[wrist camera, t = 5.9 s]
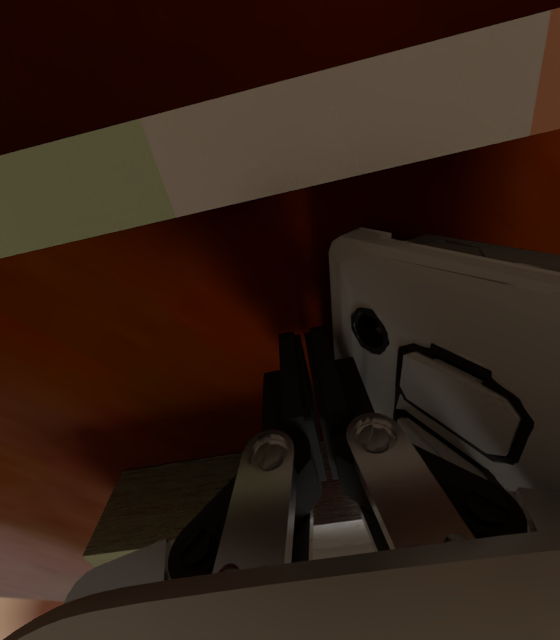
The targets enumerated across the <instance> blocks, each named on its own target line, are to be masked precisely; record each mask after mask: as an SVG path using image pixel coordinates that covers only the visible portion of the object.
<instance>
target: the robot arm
mask: <svg viewBox="0 0 560 640" xmlns="http://www.w3.org/2000/svg"><path fill="white" fill-rule="evenodd" d="M309 330H310V332H309V333H304V335H305V341H306V347H307V352H308V358H309V363H310V369H311V375H312V380H313V386H314V391H315V397H316V403H317V408H318V413H319V418H320V423H321V428H322V432H323V437H324V441H325V446H326V451H327V455H328V460H329V464H330V469H331V474H332V478H333V480H336V479H340V482H341V487H342V491H343V494H344V495H346V496H347V497H349V498H350V499H351V500H353V501H354V502H356V503H357V506H358V510H359V512H360V515H361V517H362V520H363V522H364V525H365V527H366V530H367V532H368V535H369V537H370V540H371V543H372V545H373V548H374V550H375V552H370V553H362V554H355V555H347V556H339V557H332V558H324V559H317V560H313V522H314V514H313V508H314V506H315V505H316V504H317V502H318V501H319V499H320V498H321V493H323V492H322V485H321V482H323V481H327V475H326V469H325V463H324V457H323V451H322V445H321V439H320V433H319V428H318V422H317V416H316V410H315V404H314V398H313V393H312V388H311V383H310V379H309V374H308V370H307V365H306V360H305V356H304V351H303V347H302V342H301V338H300V334H299V335H294V332H289V333H284V334H279V356H280V370H278V371H273V372H267V373H264V383H263V415H262V432H260V433H258V434H256V435H255V436H254V437H252V438H251V439H250V440H249V442H248V443H247V444H246V445H245V448H244V450H243V453H242V457H241V461H240V465H239V469H238V473H237V474H236V475H235V476H234V477H233V478H232V479H231V480H230V481H229V482H228V483H227V484H226V485H225V486H224V487H223V488H222V489H221V490H220V492H219V493H218V494H217V495H216V496H215V497H214V498H213V499H212V500H211V501H210V502H209V503H208V504H207V505H206V506H205V507H204V508H203V509H202V510H201V511H200V512H199V513H198V514H197V515H196V516H195V517H194V518H193V519H192V520H191V521H190V522H189V523H188V525H187V526H186V527H185V528H184V529H183V530H182V531H181V532H180V534H179V535H178V536H177V537H176V539H174V540H171V541H168V540H167V538H166V539H163V540H161V541H158V542H156V543H153V544H151V545H149V546H146V547H144V548H141V549H139V550H136V551H134V552H131V553H129V554H126V555H124V556H122V557H119V558H117V559H114V560H112V561H109V562H107V563H104V564H102V565H100V566H97V567H95V568H93V569H92V570H90V571H88V572H87V573H85V574H84V575H83V576H82V577H81V578H80V579H79V580H78V581H77V582H76V583H75V585H74V586H73V588H72V589H71V591H70V592H69V594H68V595H67V597H66V600H65V602H64V604H63V605H61V606H58V607H56V608H54V609H52V610H50V611H48V612H46V613H45V614H43V615H41V616H39V617H37V618H35V619H33V620H32V621H30V622H29V623H27V624H26V625H24V626H22V627H21V628H19V629H17V630H16V631H14V632H13V633H12V634H10V635H9V636H7V637H6V638H5V639H3V640H560V491H558V490H545V489H532V488H519V487H518V489H517V492H516V491H506V490H504V489H502V488H501V487H499V486H498V485H496V484H494V483H492V482H490V481H488V480H486V479H484V478H482V477H480V476H478V475H476V474H474V473H472V472H470V471H468V470H466V469H464V468H461V467H459V466H457V465H455V464H453V463H451V462H449V461H447V460H445V459H443V458H441V457H439V456H437V455H435V454H433V453H431V452H429V451H427V450H425V449H422V448H420V447H418V446H416V445H414V444H412V443H411V442H410V440H409V439H408V437H407V436H406V434H405V433H404V431H403V430H402V428H401V427H400V426H399V425H398V423H397V422H396V421H395V420H393V419H392V418H390V417H388V416H386V415H383V414H380V413H375V412H374V409H373V406H372V404H371V401H370V399H369V396H368V394H367V391H366V388H365V386H364V383H363V381H362V378H361V376H360V373H359V371H358V368H357V365H356V363H355V360H354V358H353V357H347V358H342V359H337V360H334V359H333V355H332V352H331V348H330V345H329V342H328V338H327V335H326V331H325V328H324V326H319V327H314V328H309Z"/></svg>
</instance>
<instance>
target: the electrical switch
mask: <svg viewBox="0 0 560 640" xmlns="http://www.w3.org/2000/svg"><path fill="white" fill-rule="evenodd" d="M477 247H478V248H477ZM329 270H330V289H331V307H332V326H333V344H334V360H337V359H342V358H347V357H353V358H354V360H355V363H356V365H357V368H358V371H359V373H360V376H361V378H362V381H363V383H364V386H365V388H366V391H367V394H368V396H369V399H370V401H371V404H372V406H373V409H374V412H375V413H380V414H383V415H386V416H388V417H390V418H392V419H393V420H395V421H396V422H397V423H398V425H399V426H400V427H401V428H402V430H403V431H404V433H405V434H406V436H407V437H408V439H409V440H410V442H411V443H412V444H414V445H416V446H418V447H420V448H422V449H425V450H427V451H429V452H431V453H433V454H435V455H437V456H439V457H441V458H443V459H445V460H447V461H449V462H451V463H453V464H455V465H457V466H459V467H461V468H464V469H466V470H468V471H470V472H472V473H474V474H476V475H478V476H480V477H482V478H484V479H486V480H488V481H490V482H492V483H494V484H496V485H498V486H499V487H501V488H502V489H504V490H506V491H516V492H517V489H518V487H519V488H532V489H545V490H558V491H560V255H556V254H550V253H544V252H537V251H531V250H525V249H519V248H513V247H506V246H500V245H494V244H488V243H482V242H475V241H469V240H463V239H457V238H451V237H445V236H438V235H432V234H424V235H422V236H419V237H416V238H414V239H410V240H405V241H400V240H395V239H392V238H391V233H388V232H383V231H378V230H373V229H368V228H363V227H360V228H358V229H355V230H353V231H351V232H348V233H346V234H344V235H341V236H339V237H338V238H336V239H335V240H333V241H332V243H331V246H330V249H329Z"/></svg>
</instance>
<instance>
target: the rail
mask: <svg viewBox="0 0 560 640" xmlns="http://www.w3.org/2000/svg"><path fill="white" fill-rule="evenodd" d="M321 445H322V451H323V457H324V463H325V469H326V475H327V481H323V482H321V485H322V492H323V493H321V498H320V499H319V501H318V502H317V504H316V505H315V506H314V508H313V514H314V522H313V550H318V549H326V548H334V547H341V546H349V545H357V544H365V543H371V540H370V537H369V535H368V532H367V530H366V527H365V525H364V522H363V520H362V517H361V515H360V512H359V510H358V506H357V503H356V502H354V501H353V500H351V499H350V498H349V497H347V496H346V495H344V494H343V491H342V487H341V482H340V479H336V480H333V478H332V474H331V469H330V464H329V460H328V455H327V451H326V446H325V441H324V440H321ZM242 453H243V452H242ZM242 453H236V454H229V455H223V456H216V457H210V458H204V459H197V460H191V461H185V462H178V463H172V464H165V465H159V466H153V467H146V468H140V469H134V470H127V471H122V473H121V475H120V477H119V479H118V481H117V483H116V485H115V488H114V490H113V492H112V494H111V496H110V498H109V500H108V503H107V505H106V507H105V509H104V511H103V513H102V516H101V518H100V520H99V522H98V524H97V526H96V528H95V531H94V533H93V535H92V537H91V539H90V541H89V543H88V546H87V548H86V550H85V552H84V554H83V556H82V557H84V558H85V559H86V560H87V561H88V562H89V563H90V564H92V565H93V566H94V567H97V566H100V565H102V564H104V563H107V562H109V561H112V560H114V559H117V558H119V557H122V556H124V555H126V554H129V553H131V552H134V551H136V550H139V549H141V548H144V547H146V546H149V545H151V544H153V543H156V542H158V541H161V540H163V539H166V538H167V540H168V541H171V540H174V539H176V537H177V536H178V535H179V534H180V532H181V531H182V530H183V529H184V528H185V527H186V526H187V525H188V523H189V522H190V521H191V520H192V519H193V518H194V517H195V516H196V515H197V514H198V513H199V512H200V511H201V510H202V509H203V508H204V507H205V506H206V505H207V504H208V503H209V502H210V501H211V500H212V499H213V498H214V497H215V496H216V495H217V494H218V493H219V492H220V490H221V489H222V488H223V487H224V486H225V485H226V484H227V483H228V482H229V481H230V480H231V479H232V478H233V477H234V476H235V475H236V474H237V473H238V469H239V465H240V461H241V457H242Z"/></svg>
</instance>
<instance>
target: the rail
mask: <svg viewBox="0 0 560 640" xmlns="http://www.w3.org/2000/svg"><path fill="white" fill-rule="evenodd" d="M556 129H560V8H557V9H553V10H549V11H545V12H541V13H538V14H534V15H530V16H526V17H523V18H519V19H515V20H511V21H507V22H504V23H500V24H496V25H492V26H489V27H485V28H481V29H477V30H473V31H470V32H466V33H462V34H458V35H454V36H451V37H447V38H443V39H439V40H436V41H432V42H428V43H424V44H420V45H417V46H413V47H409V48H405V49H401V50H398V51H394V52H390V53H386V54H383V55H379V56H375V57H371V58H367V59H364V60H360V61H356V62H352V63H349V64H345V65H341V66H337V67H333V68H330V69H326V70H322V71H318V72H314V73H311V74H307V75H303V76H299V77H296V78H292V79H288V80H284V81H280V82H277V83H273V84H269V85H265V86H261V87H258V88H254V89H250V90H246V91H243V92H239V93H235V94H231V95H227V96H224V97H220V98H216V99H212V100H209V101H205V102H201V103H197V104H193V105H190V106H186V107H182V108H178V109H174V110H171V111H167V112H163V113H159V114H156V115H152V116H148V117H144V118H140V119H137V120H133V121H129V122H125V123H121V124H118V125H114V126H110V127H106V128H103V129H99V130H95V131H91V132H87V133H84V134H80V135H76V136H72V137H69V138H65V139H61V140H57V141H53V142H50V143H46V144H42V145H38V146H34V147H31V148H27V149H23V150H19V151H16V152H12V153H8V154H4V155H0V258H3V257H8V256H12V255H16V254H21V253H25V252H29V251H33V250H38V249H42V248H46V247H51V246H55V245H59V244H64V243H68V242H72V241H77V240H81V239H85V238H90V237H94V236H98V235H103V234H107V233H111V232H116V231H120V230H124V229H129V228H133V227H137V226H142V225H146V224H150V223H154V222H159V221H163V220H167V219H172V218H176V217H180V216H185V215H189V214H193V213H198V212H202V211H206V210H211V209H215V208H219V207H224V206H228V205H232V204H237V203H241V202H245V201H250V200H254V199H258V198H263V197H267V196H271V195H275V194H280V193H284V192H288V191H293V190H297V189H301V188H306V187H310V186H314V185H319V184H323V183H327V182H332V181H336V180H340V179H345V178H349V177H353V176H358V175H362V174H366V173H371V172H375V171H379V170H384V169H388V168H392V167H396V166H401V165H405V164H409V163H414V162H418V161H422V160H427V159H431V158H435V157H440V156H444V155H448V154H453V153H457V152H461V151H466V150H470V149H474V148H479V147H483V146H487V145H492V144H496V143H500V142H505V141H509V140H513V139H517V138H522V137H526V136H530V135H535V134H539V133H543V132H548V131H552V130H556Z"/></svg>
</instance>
